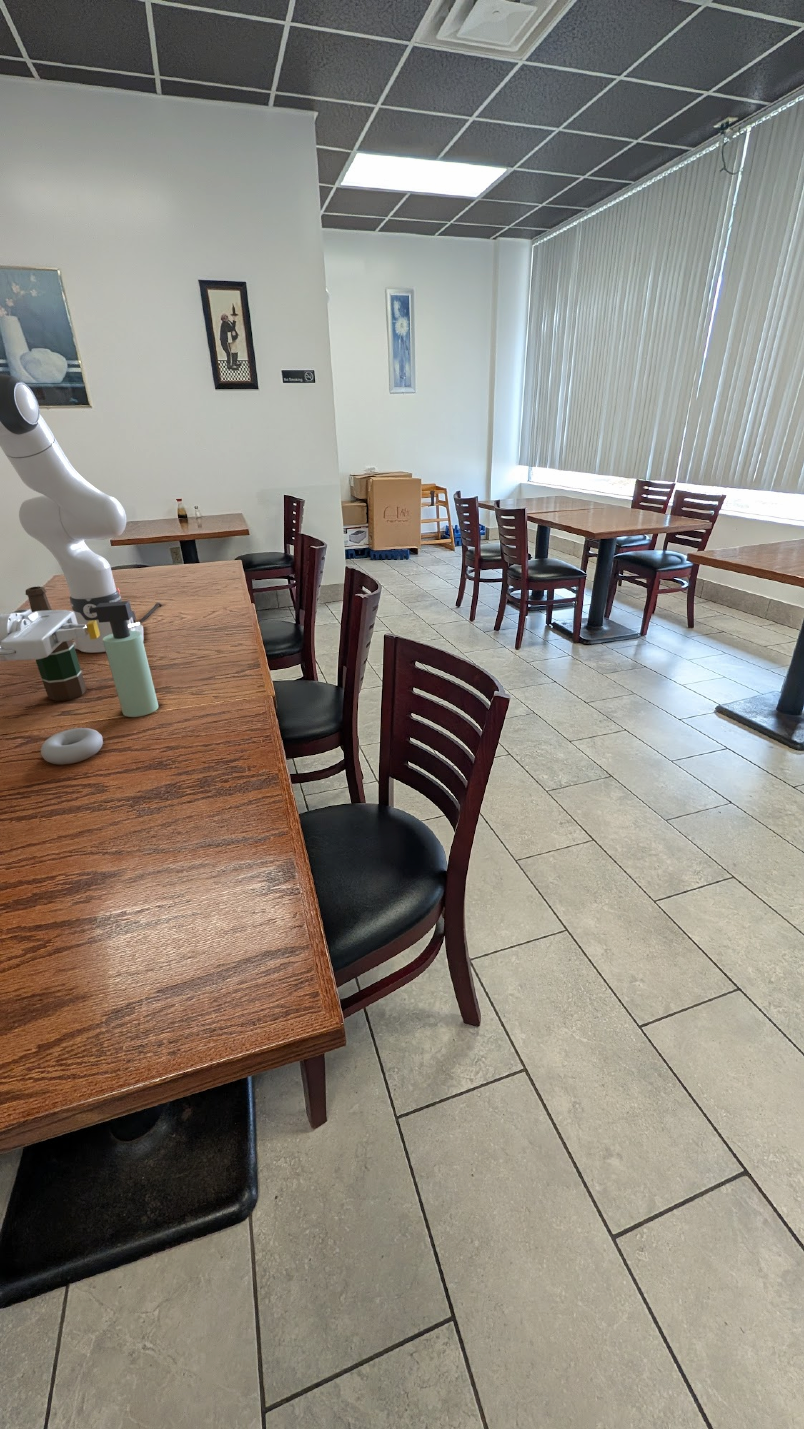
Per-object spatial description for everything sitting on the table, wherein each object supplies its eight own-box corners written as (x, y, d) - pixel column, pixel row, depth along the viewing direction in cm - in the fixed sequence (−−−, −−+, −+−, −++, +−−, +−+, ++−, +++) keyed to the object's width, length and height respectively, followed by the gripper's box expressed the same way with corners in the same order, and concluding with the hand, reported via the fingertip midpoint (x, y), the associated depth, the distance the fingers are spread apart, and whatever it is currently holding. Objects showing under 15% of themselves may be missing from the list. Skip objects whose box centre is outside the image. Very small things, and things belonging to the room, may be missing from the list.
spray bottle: (121, 705, 124) (93, 601, 115) (161, 701, 126) (136, 597, 116) (113, 719, 118) (83, 610, 108) (155, 714, 120) (128, 607, 110)
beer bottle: (71, 702, 127) (36, 593, 116) (40, 700, 128) (3, 592, 118) (94, 688, 133) (64, 583, 123) (65, 686, 135) (32, 583, 124)
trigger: (93, 635, 115) (89, 620, 114) (100, 635, 115) (96, 620, 114) (90, 639, 113) (86, 624, 112) (97, 638, 113) (92, 623, 112)
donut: (74, 772, 100) (117, 744, 108) (68, 755, 98) (112, 727, 107) (31, 764, 103) (75, 737, 112) (24, 747, 102) (70, 721, 110)
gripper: (-21, 638, 101) (65, 630, 103) (24, 606, 119) (97, 601, 121) (-8, 672, 103) (75, 664, 106) (34, 636, 121) (105, 630, 124)
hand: (87, 630), depth 113 cm, fingers closed
